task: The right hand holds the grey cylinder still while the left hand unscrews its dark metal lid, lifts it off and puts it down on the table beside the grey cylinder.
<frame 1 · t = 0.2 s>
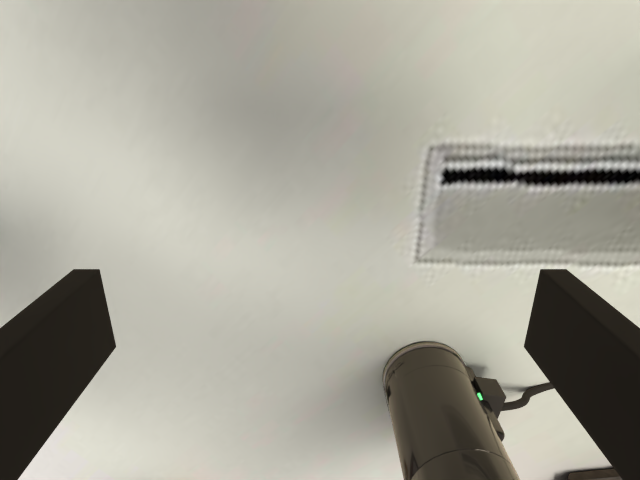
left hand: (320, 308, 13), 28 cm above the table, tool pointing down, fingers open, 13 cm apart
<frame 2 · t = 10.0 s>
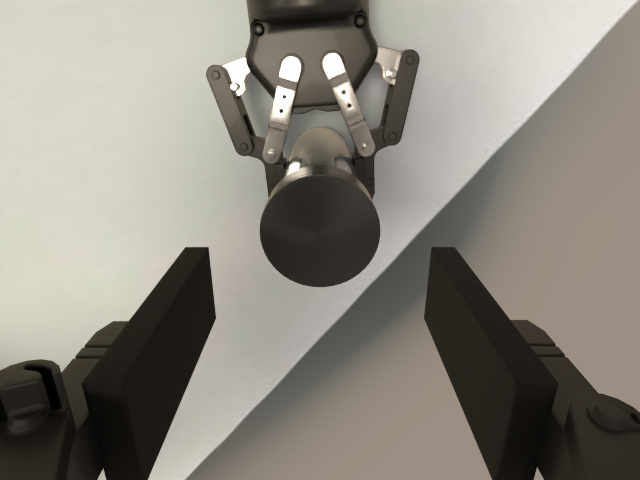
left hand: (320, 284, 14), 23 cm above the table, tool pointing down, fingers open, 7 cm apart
right hand: (323, 206, 31), fingers closed on grey cylinder, 5 cm apart
grey cylinder: (320, 156, 36), on the table, touching right hand
lid: (319, 231, 19), point 18 cm above the table, screwed on, not yet turned
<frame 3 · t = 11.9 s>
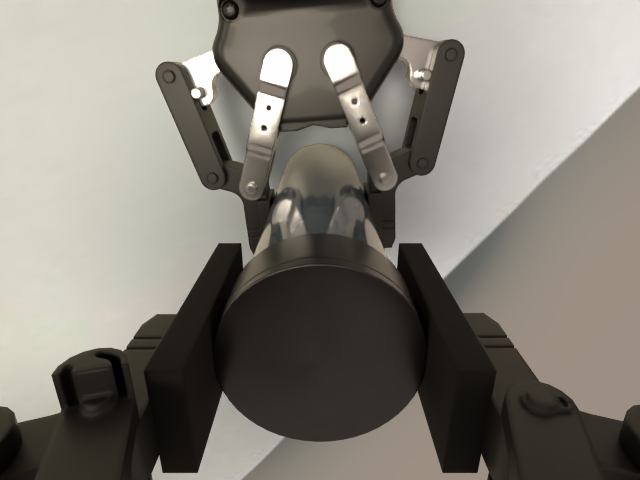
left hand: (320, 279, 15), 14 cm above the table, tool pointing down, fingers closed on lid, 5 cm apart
right hand: (324, 255, 23), fingers closed on grey cylinder, 5 cm apart
grey cylinder: (320, 181, 28), on the table, touching right hand
lid: (320, 352, 11), point 18 cm above the table, screwed on, not yet turned, touching left hand
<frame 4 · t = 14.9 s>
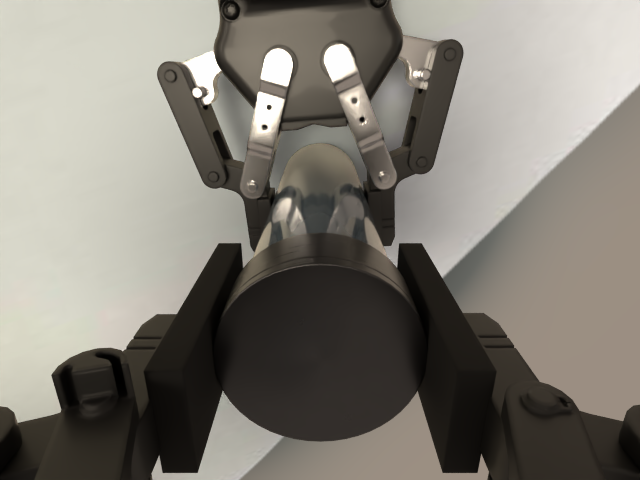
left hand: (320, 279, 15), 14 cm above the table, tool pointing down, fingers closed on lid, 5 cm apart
right hand: (324, 253, 23), fingers closed on grey cylinder, 5 cm apart
grey cylinder: (320, 180, 28), on the table, touching right hand
lid: (320, 352, 11), point 18 cm above the table, turned 62° so far, risen 0.2 cm, still on its thread, touching left hand
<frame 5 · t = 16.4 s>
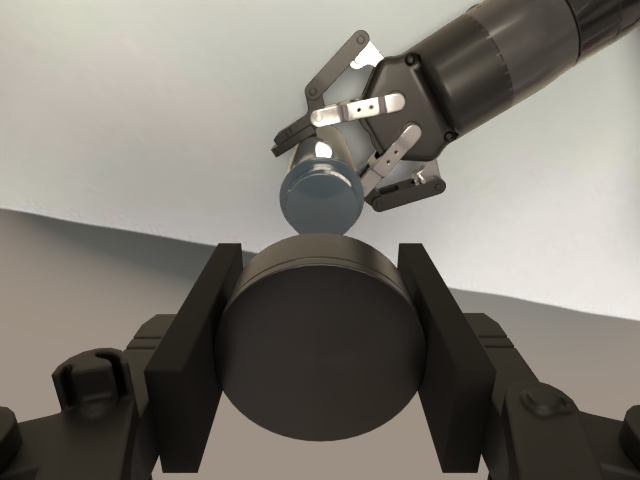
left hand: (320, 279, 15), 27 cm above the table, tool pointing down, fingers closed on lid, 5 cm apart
right hand: (294, 180, 34), fingers closed on grey cylinder, 5 cm apart
grey cylinder: (321, 150, 39), on the table, touching right hand
lid: (320, 352, 11), point 31 cm above the table, off its thread, touching left hand
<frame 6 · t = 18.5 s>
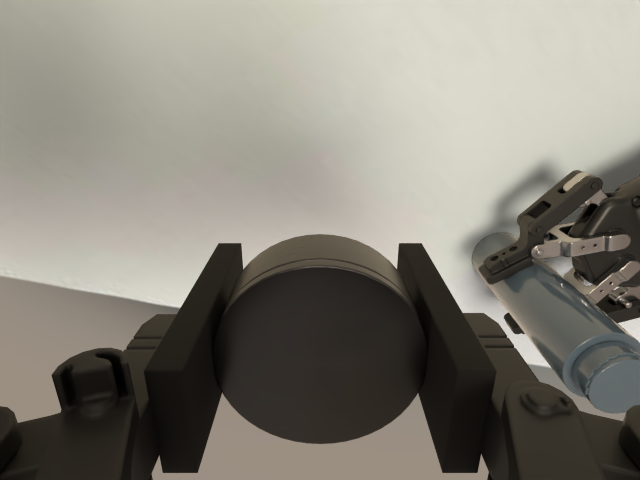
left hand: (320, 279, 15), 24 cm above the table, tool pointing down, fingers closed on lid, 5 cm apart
grey cylinder: (497, 256, 41), on the table, touching right hand
lid: (320, 354, 11), point 28 cm above the table, off its thread, touching left hand
when the left hand's fingers open (0 cm above the table, at t = 22.5 s): lid drops 3 cm, point 2 cm above the table.
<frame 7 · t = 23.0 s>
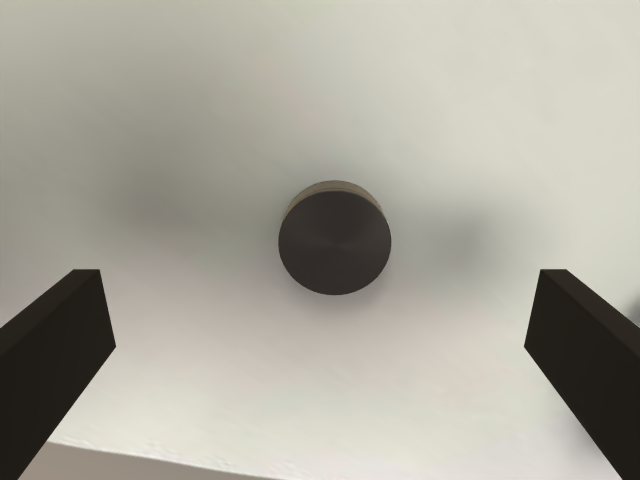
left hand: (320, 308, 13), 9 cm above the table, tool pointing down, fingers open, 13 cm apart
lid: (334, 242, 20), point 2 cm above the table, off its thread
when the right hand's fingers open (6 cm above the table, at t = 23.1 s): grey cylinder stays where it is, on the table.
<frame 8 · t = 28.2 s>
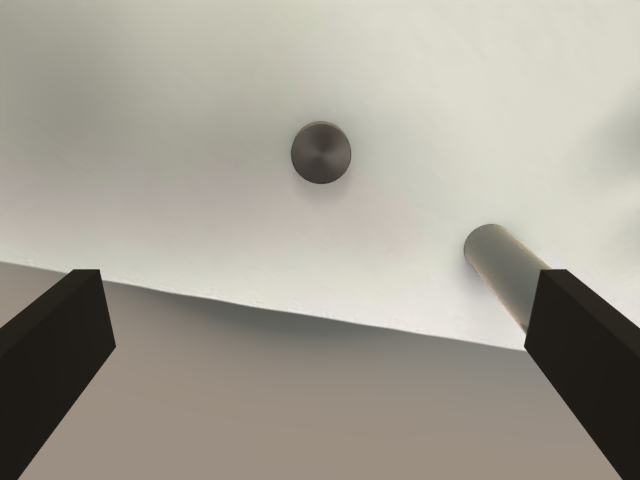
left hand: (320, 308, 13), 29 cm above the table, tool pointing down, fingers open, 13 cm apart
grey cylinder: (487, 246, 43), on the table
lid: (321, 154, 38), point 2 cm above the table, off its thread
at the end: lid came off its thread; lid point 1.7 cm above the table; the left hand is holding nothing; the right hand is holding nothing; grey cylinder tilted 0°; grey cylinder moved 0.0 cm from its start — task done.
